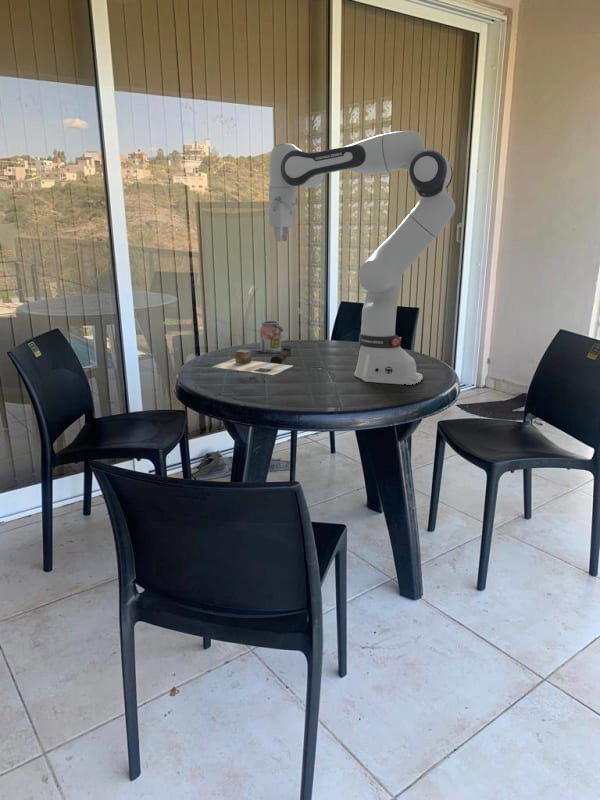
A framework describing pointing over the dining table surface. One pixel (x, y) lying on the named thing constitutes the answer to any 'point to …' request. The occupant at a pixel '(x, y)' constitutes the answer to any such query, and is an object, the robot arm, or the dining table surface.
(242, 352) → the walnut cube
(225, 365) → the birch board
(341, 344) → the dining table surface
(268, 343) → the beverage can
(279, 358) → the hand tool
